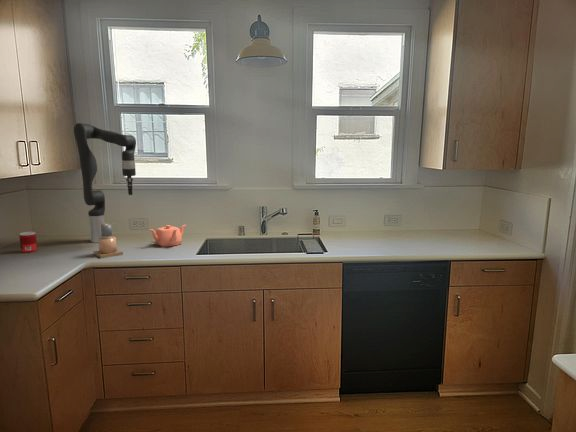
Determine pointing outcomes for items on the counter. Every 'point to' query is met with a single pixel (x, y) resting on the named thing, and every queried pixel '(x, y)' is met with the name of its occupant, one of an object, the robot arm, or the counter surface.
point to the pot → (168, 235)
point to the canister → (107, 247)
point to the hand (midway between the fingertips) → (130, 194)
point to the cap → (106, 229)
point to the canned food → (28, 242)
